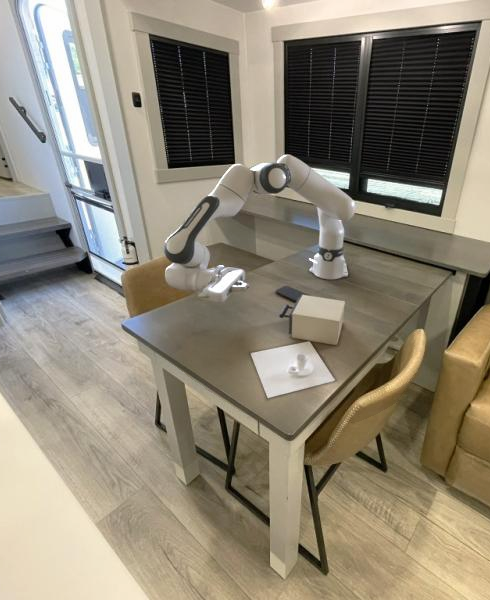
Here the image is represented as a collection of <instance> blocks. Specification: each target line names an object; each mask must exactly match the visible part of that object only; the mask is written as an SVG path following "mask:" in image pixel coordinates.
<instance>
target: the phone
mask: <svg viewBox="0 0 490 600" xmlns="http://www.w3.org/2000/svg"><path fill="white" fill-rule="evenodd" d="M275 294H278V295H280V296H282V297H284V298H286V299H288V300H290V301H293V302H295V303H296V301H297V300H298V298H299V297H302V295H307V296H311V295H310V294H308V293H306V292H303V291H301V290H298V289H296V288H294V287H292V286H289V285H284V286H282V287H279V288H277V289H276V290H275Z"/></svg>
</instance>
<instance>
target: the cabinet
mask: <svg viewBox="0 0 490 600" xmlns="http://www.w3.org/2000/svg"><path fill="white" fill-rule="evenodd" d="M345 306H346V301H345V300H338V299H332V298H325V297H319V296H313V295H310V296H307V295H302V297H301V299H300V300H299V302H298V304H297V306H296V308H295V310H294V312H293V314H292V334H291V338H292V339H298V340H303V341H310V342H314V343H321V344H327V345H333V346H338V342H339V338H340V335H341V331H342V327H343V322H344V315H345Z"/></svg>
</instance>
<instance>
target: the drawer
mask: <svg viewBox="0 0 490 600" xmlns="http://www.w3.org/2000/svg"><path fill="white" fill-rule="evenodd" d="M300 299H301V297H299V298H298V300H297V301H296V302H295V304H294V305H293V306H290V305H289V304H287V303H286V304H285V305H284V306H283V308H282V310H281V311H280V313H279V315H278V317H279V318H280V319H284V318H288V334H289V335H292V314H293V312H294V310H295V308H296V306H297V304H298V302H299V300H300ZM289 309H291V310H290V312H289V314H286V313H287V312H288V310H289Z"/></svg>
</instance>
